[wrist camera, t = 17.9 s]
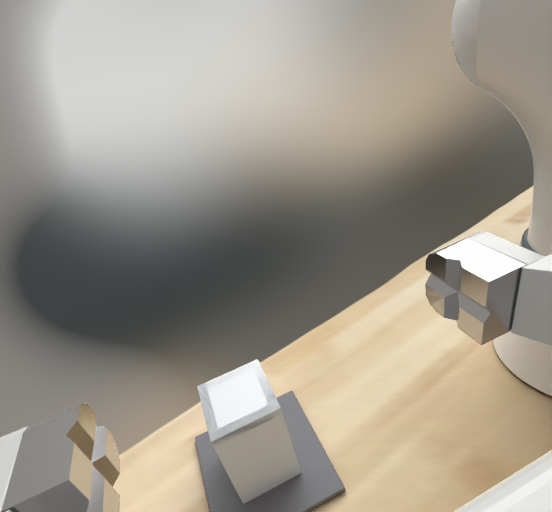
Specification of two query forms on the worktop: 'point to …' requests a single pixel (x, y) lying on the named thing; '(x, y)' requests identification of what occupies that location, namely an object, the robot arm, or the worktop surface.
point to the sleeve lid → (248, 430)
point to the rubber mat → (289, 495)
